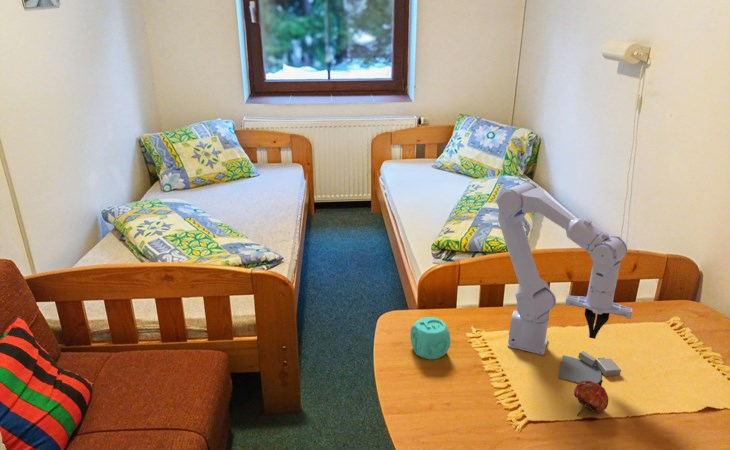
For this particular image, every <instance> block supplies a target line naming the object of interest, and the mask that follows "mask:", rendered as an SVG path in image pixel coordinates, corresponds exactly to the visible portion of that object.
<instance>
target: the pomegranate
mask: <svg viewBox="0 0 730 450" xmlns="http://www.w3.org/2000/svg"><path fill="white" fill-rule="evenodd" d="M603 382H604V381H603V379H601V381H600V382H599V383H594V382H592V381H581V382H579V383H576V385H575V388H574V389H573V390H574V391H573V396H574V397H575V398H576V399H577V401H578V403H579V404H580V405H581V406H582V407H581V409H580V411H579V412H578V413H577V415H576V416H577V417H579V415H580V414H581V413H582V412H584V409H585V408H589V409H591V411H592V412H595V413H596V414H601V413H603V412H604V411H605V410H606V409H607V407H608V406H609V396H608V393H607V391H606V389H605V388H604V386H602V384H603Z"/></svg>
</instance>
